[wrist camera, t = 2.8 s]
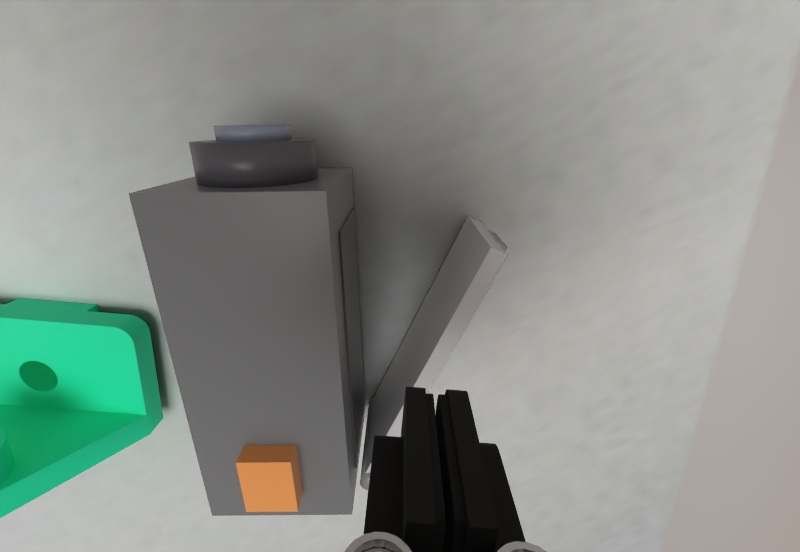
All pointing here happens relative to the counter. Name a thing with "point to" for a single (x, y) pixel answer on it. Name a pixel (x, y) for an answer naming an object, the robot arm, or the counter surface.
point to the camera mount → (69, 392)
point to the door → (435, 329)
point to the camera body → (262, 319)
